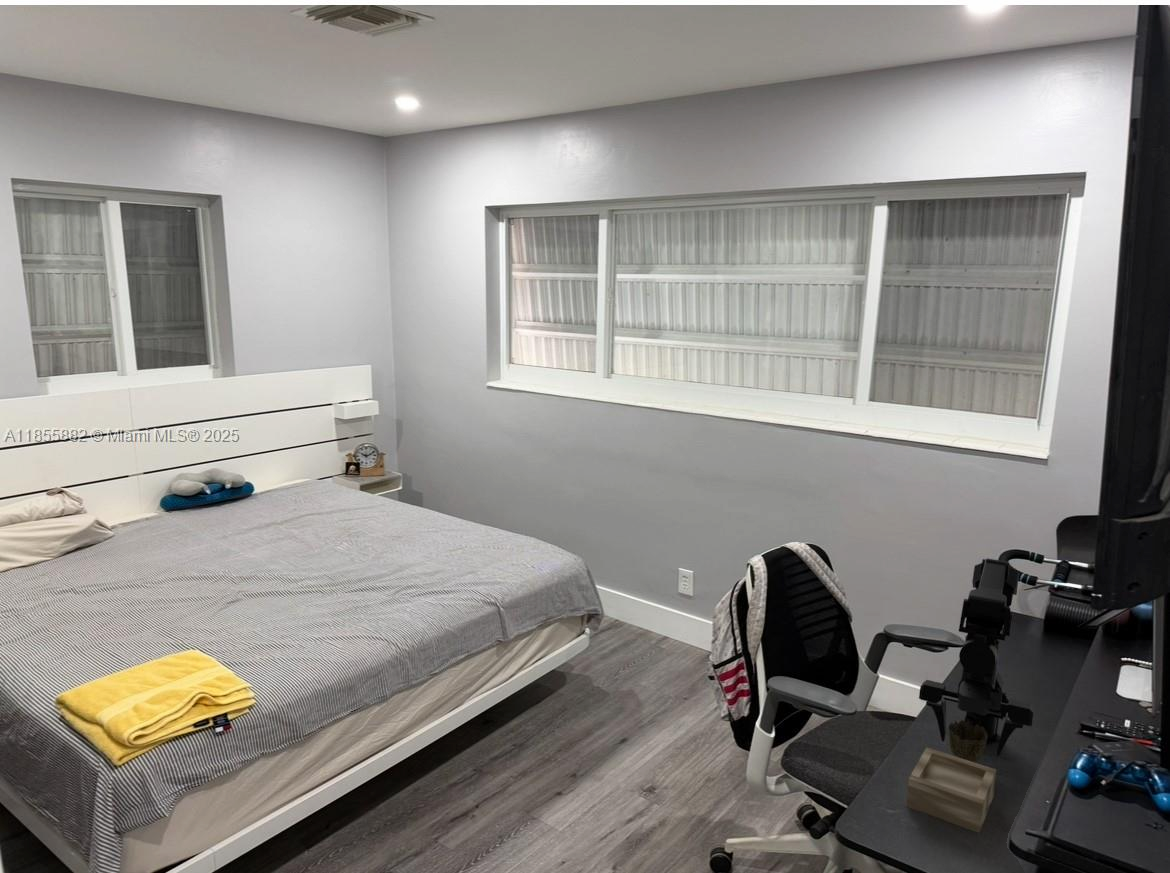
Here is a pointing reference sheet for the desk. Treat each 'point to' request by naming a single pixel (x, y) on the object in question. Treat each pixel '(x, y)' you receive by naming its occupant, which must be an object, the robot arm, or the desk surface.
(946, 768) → the wooden box
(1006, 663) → the desk surface
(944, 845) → the desk surface
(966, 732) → the cup
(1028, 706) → the robot arm
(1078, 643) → the desk surface
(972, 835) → the desk surface
